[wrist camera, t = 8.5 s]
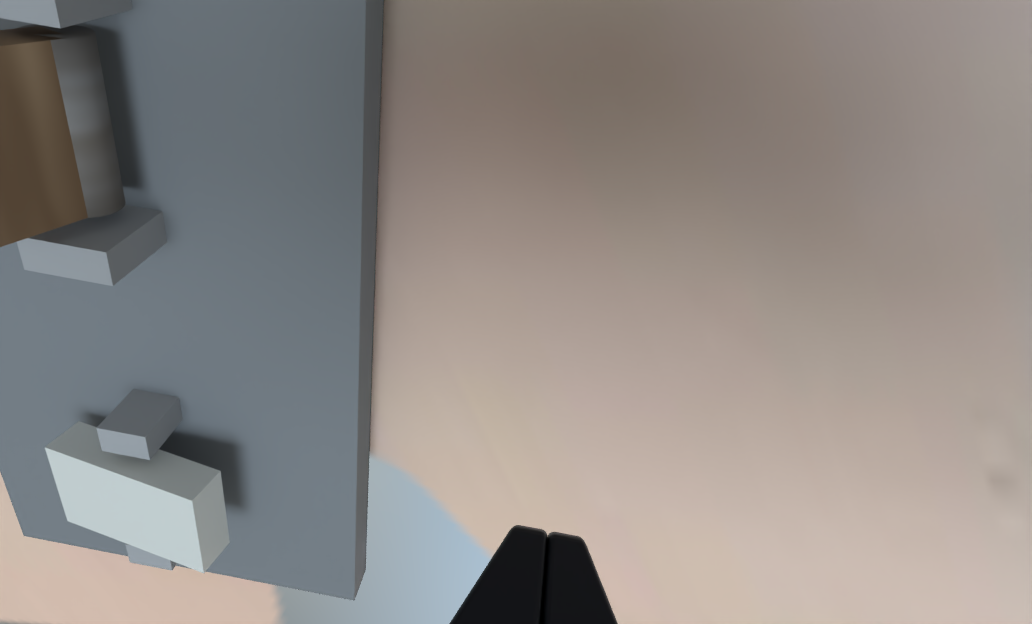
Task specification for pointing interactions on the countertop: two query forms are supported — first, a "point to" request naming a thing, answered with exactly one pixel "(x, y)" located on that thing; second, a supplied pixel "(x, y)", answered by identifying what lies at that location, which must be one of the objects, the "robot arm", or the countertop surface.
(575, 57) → the countertop surface
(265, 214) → the switch panel
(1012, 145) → the countertop surface
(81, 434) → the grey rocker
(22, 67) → the walnut lever
